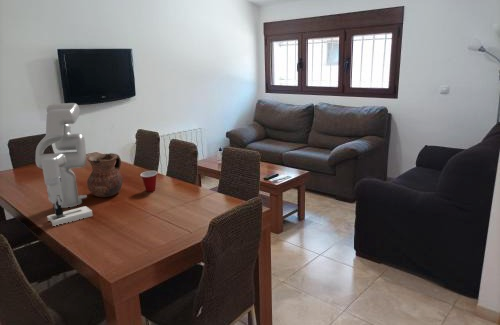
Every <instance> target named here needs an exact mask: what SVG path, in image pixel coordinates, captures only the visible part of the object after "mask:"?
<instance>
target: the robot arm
mask: <svg viewBox="0 0 500 325" xmlns="http://www.w3.org/2000/svg"><path fill="white" fill-rule="evenodd" d="M80 112H81V109H80V107H79V104H77V103H75V102H67V103H63V102H61V103H53V104H52V103H51V104H48V105H47V107H46V118H45V119H46V120H45V123H46V124H45V126H46V127H45V136H44V137H43V138H42V139H41V140H40V141H39V143H38V144H37V145H36V149H35V165H36V167H37V168H39V169H42V174H43V179H44V184H45V186H46V192H47V198H48V201H49V202H50V203H52V208H53V213H54V214H55V211H56V215H57V216H58V215H62V214H63V212H64V211H63V209H68V207H70V208H74V207H77V205H78V206H79V205H81V204H82V203H83V199H87V198H88V195H87V194H84V195H83V194H80V195H79V193H78V185H77V180H76V179H77V178H76V174H75V173H74V171H73V170H72V169H78V168H79V169H81V168H84V167H85V166H86V165H87V154H86V151H87V150H86V149H87V148H86V140H85V137H84V134H81V133H71V132H72V131H71V125H74V124H76V122H77V121H78V119H79V116H80ZM52 144H54V146H55V149H56V150H57V151H61V152H58V153H45V150H46V149H47V148H48V147H50V146H51V145H52ZM62 151H63V152H62ZM54 204H55V207H56V208H55V210H54Z"/></svg>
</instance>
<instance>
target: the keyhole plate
mask: <svg viewBox="0 0 500 325" xmlns="http://www.w3.org/2000/svg"><path fill="white" fill-rule="evenodd" d="M93 215H94V214H93V210H92V209H91V208H89V207H88V206H86V205H85V206H84V205H83V206H81V207H77V208H72V209H70V210H65V211H63V214H62V215H61V217H62V218H58V219H56V218H57V215H55V213H54V214H50V215H47V216H46V219H47V222H48V221H50V222H51V225H52V227H53V226H55V227H57V226H56V225H58V226H60V225H59V224H62V225H64V224H63V223H66V224H69V223H72V221H73V222H75V221H80V220H83V218H84V219H87V218H90V217H93ZM54 219H55V220H54ZM79 219H80V220H79ZM68 222H69V223H68Z"/></svg>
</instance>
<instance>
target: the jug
mask: <svg viewBox="0 0 500 325" xmlns="http://www.w3.org/2000/svg"><path fill="white" fill-rule="evenodd" d="M87 161H88V163H89V164H90V165H91V168H92V172H91V173H90V174H89V176H88V177H87V180H86V182H87V183H86V186H87V189H88V191H89V192H90V193H91V194H92V195H93V196H95V197H99V198H108V197H109V198H110V197H112V196H115V195H117V194H118V193H119V192H120V191H121V189H122V186H123V179H124V178H123V176H122V174H121V173H120V168H121V166H122V165H121V164H122V161H121V157H120V156H119V154H116V153H112V152H111V153H102V154H92V155H89V156H87Z"/></svg>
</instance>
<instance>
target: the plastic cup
mask: <svg viewBox="0 0 500 325" xmlns="http://www.w3.org/2000/svg"><path fill="white" fill-rule="evenodd" d="M157 176H158V171H157V170H147V171H144V172H141V173H140V177H141V178H142V181H143V186H144V188H145V191H146V192H148V193H150V192H151V193H152V192H155V191H156V187H157V186H156V185H157Z"/></svg>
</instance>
